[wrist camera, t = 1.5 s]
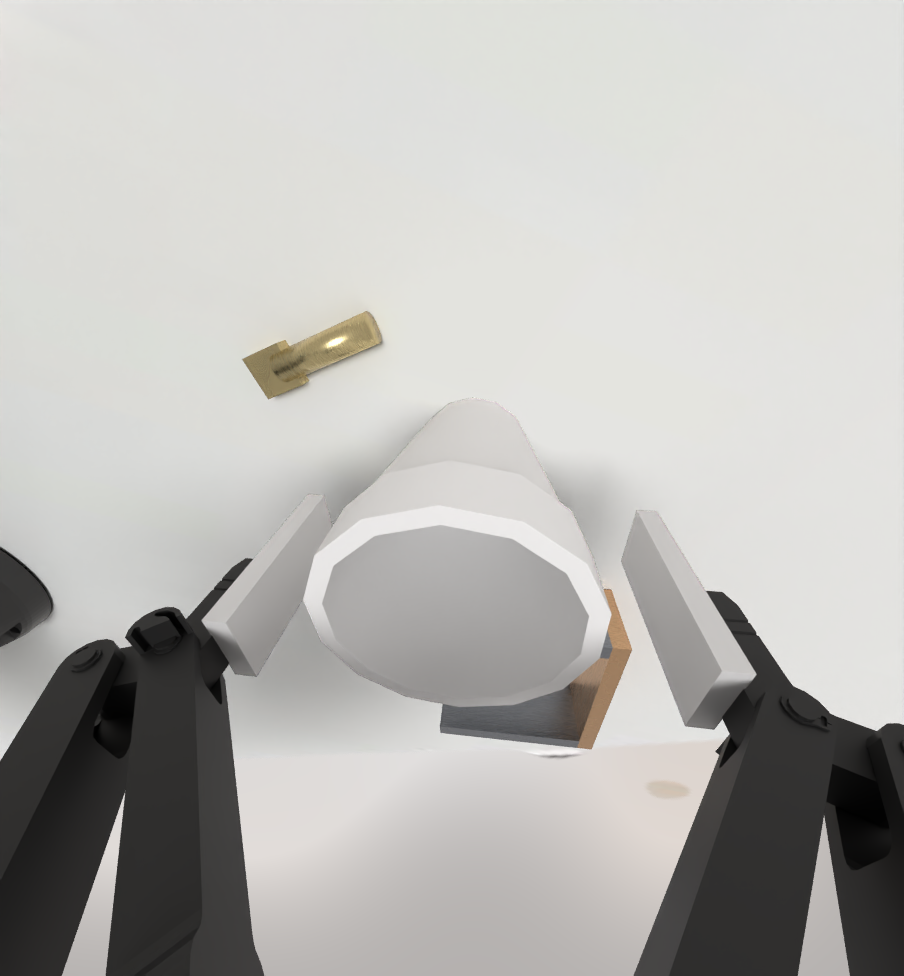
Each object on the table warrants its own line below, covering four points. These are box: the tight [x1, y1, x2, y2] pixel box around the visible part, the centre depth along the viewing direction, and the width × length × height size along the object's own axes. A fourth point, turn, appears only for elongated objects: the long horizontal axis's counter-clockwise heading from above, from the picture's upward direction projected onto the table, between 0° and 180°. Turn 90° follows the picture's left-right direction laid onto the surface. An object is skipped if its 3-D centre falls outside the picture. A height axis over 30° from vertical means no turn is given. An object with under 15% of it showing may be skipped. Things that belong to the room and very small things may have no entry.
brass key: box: [242, 311, 381, 399], centre depth 19 cm, size 8×2×2 cm, turn 111°
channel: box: [440, 589, 632, 749], centre depth 30 cm, size 13×14×5 cm
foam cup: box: [303, 397, 612, 707], centre depth 17 cm, size 10×9×13 cm
